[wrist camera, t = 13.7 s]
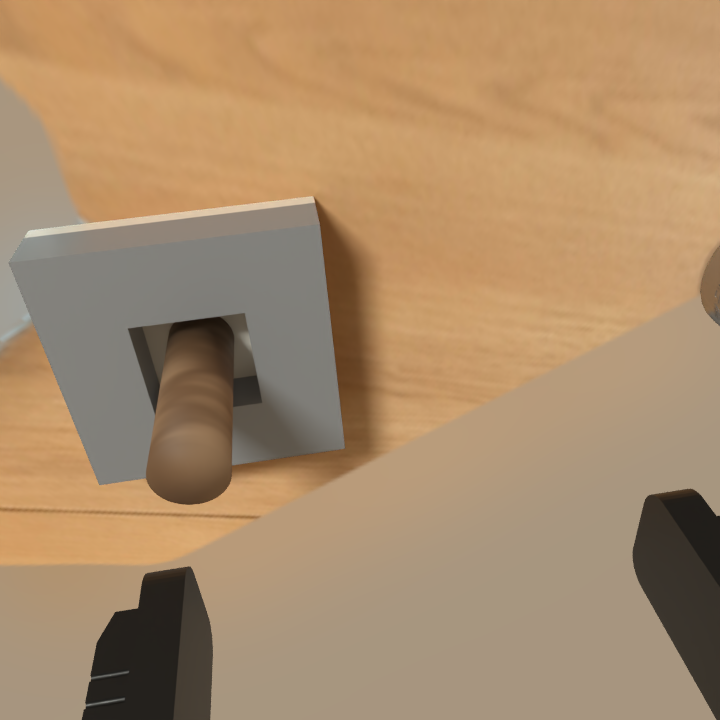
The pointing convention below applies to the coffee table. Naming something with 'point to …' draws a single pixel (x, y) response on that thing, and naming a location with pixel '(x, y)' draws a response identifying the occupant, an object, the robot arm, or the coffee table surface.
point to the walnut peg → (194, 414)
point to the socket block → (182, 303)
